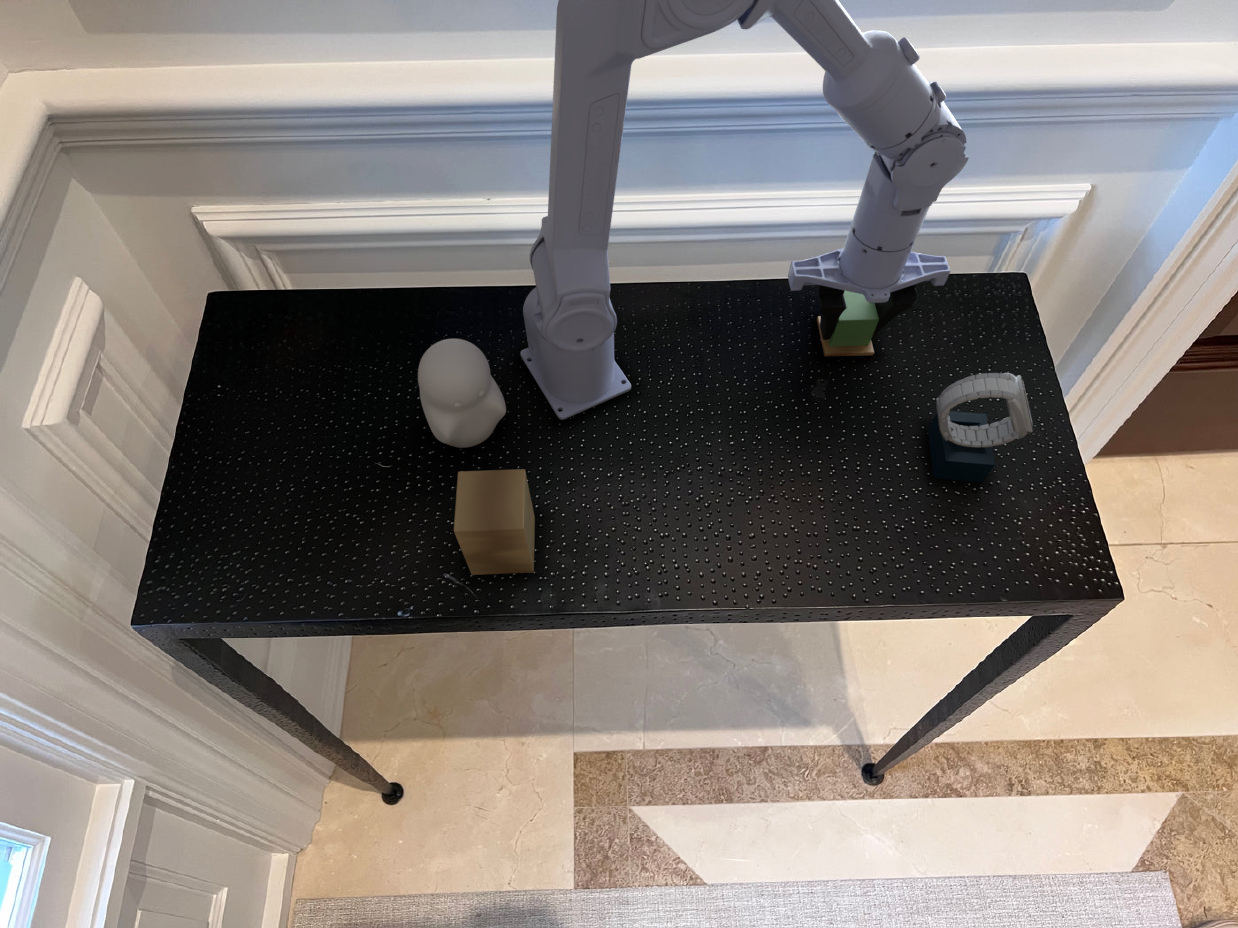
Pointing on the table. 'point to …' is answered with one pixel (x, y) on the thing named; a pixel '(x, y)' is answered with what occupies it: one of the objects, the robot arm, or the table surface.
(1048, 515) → the table surface
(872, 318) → the green block
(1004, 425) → the watch
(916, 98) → the robot arm
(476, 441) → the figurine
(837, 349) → the coaster
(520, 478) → the wooden block
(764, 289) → the table surface
